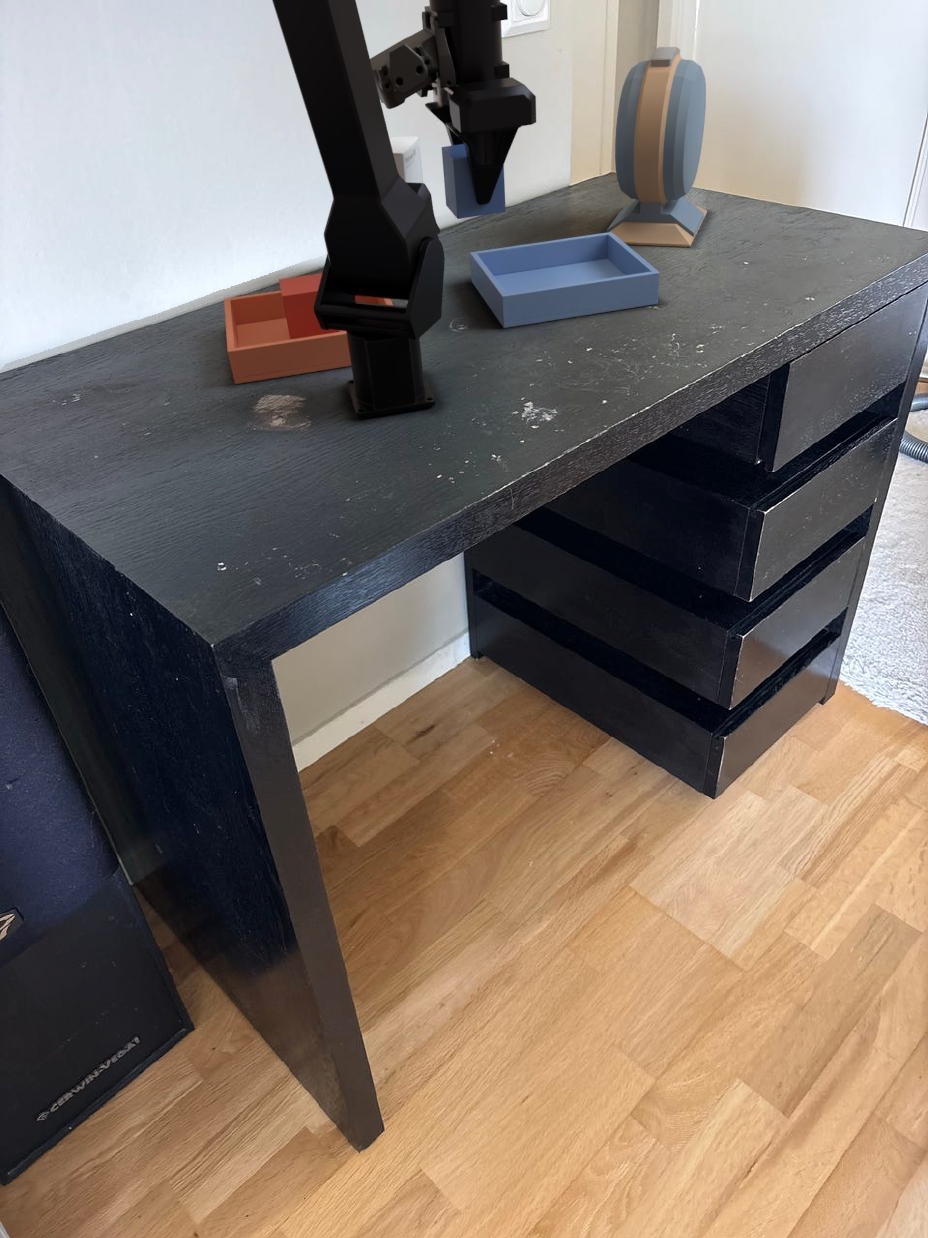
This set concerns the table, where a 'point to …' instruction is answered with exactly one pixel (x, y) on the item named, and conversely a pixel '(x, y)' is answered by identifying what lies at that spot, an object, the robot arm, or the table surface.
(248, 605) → the table surface
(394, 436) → the table surface
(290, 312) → the red block
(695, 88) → the blue rounded upright piece
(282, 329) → the red tray
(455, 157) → the blue block
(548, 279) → the blue tray
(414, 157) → the white packaging box
